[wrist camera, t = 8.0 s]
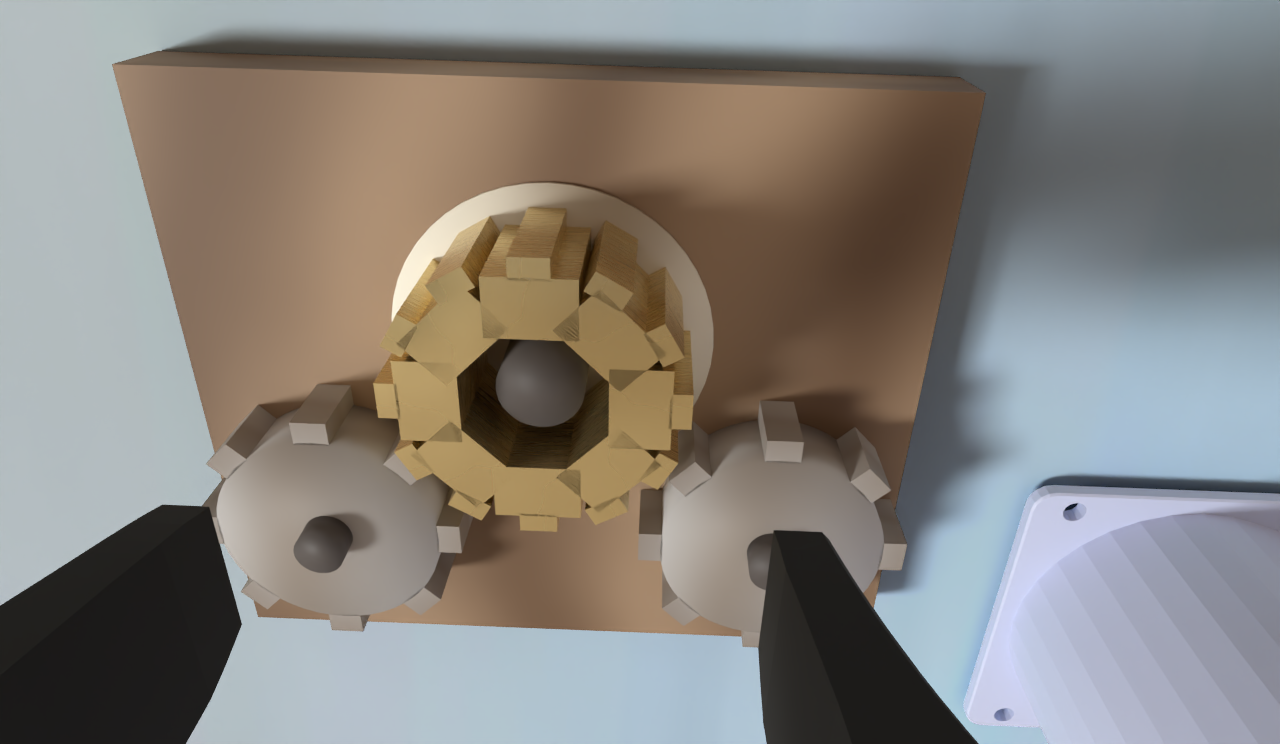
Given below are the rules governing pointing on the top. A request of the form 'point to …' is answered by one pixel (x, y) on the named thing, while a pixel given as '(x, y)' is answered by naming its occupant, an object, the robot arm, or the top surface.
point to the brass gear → (539, 310)
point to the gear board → (665, 135)
